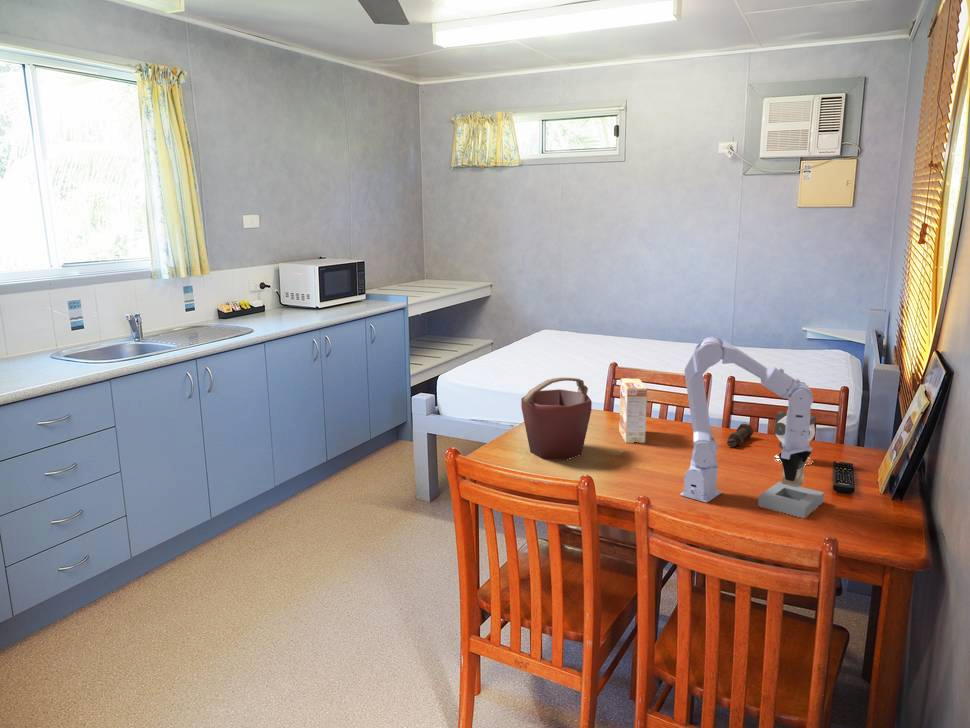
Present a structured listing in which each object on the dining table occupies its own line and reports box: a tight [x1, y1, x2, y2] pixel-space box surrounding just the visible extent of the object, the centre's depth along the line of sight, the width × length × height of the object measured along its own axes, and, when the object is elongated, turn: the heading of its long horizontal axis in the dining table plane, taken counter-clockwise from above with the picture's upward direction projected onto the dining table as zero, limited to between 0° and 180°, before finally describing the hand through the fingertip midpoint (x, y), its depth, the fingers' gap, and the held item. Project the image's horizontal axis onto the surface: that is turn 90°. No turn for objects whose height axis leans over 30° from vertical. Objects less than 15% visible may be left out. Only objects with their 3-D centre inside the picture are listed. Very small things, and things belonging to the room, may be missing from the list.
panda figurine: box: [774, 411, 817, 465], centre depth 223 cm, size 12×11×15 cm
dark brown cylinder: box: [726, 423, 755, 448], centre depth 242 cm, size 6×5×15 cm
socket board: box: [757, 481, 825, 519], centre depth 190 cm, size 14×12×3 cm
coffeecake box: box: [618, 377, 648, 444], centre depth 248 cm, size 15×7×20 cm, turn 178°
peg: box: [781, 461, 806, 488], centre depth 188 cm, size 4×4×6 cm
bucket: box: [520, 377, 593, 461], centre depth 231 cm, size 24×22×25 cm
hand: (793, 477), depth 188 cm, fingers closed on peg, 4 cm apart
